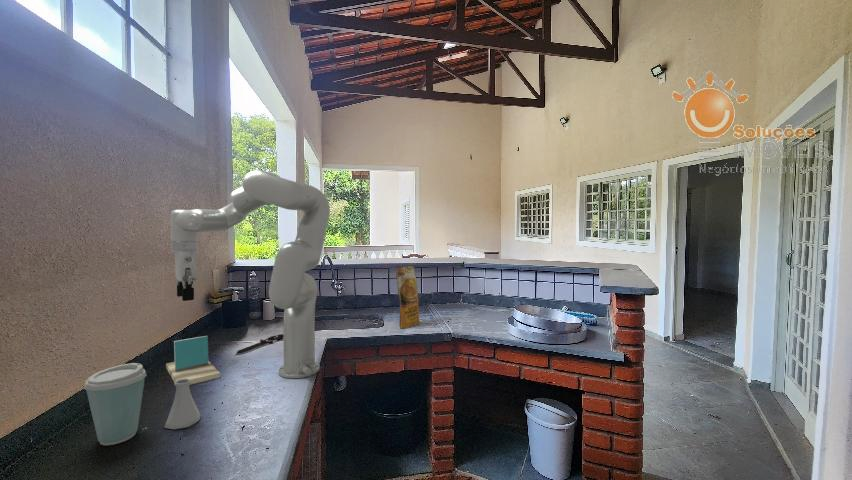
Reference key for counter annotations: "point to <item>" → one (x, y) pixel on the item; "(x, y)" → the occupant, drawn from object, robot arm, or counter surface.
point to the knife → (260, 344)
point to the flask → (182, 407)
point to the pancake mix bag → (407, 296)
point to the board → (193, 373)
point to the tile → (191, 352)
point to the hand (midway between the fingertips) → (185, 298)
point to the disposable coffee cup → (116, 401)
